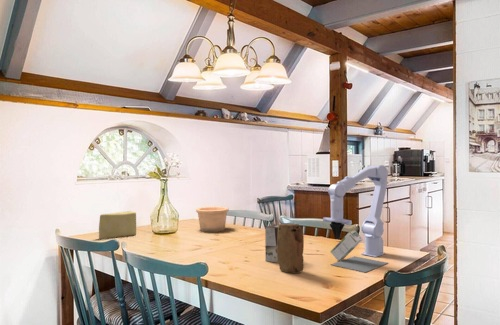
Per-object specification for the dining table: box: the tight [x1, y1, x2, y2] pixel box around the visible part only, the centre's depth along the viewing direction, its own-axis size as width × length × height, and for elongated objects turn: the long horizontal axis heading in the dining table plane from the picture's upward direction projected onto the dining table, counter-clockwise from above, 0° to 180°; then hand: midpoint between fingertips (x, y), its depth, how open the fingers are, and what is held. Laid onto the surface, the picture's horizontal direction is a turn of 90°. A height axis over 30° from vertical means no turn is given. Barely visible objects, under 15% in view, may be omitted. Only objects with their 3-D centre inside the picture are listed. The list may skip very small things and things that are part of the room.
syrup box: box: [329, 230, 363, 262], centre depth 179 cm, size 6×6×14 cm
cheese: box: [98, 210, 137, 240], centre depth 243 cm, size 22×10×15 cm, turn 133°
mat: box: [330, 256, 389, 274], centre depth 174 cm, size 20×17×1 cm
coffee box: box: [264, 223, 279, 263], centre depth 183 cm, size 9×6×16 cm
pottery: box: [195, 206, 229, 233], centre depth 262 cm, size 22×22×14 cm
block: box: [277, 222, 305, 274], centre depth 165 cm, size 11×8×20 cm
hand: (337, 238), depth 182 cm, fingers closed
